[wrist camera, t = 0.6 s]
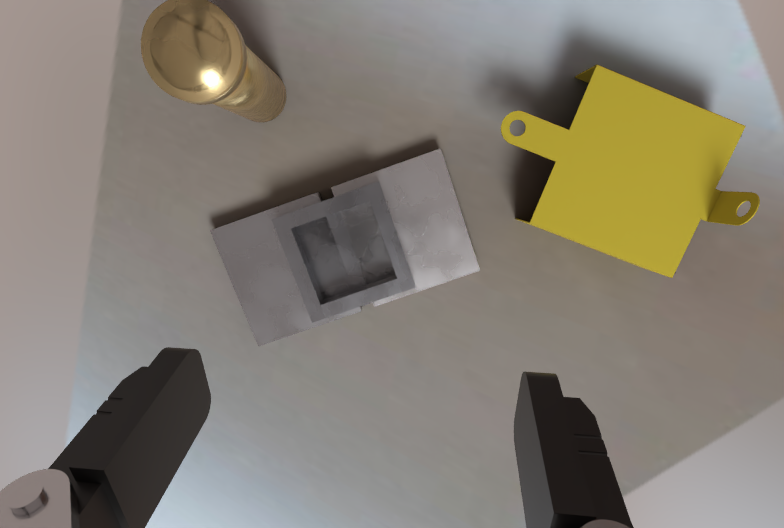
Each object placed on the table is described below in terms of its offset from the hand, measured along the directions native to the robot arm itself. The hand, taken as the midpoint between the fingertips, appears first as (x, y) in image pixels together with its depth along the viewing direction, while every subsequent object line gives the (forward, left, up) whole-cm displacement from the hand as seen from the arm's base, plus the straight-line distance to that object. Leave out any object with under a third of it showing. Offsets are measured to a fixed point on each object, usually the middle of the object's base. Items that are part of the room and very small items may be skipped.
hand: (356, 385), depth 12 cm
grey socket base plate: (-1, -2, -24) cm, 24 cm away
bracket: (-1, +16, -24) cm, 29 cm away
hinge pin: (-13, -4, -24) cm, 27 cm away
